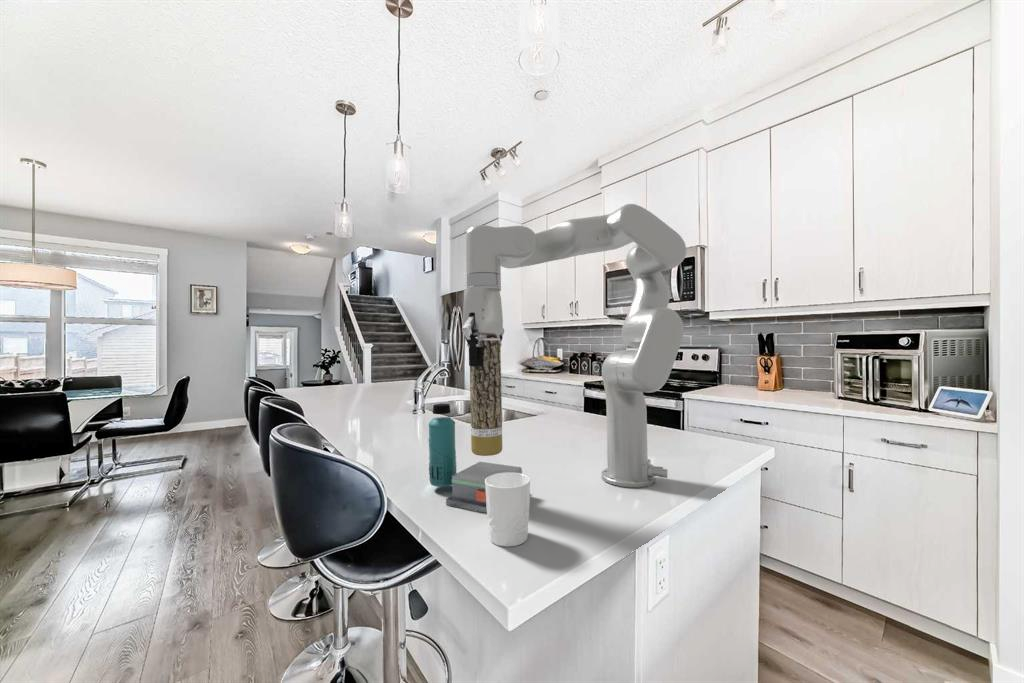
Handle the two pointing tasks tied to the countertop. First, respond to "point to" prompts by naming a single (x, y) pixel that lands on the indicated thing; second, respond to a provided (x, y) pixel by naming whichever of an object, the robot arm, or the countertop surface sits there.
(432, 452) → the beverage bottle
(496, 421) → the paper tube
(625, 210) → the robot arm
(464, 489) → the stand
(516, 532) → the white cup
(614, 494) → the countertop surface
